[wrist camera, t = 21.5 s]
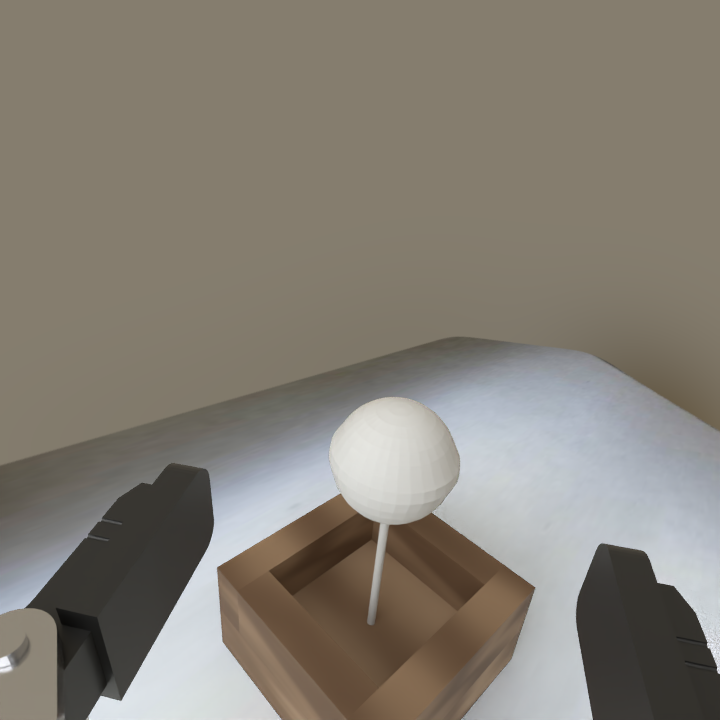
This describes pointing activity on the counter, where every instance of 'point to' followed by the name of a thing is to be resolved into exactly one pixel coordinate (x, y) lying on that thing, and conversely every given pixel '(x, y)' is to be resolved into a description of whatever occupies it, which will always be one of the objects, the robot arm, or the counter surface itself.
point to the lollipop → (393, 467)
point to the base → (350, 613)
